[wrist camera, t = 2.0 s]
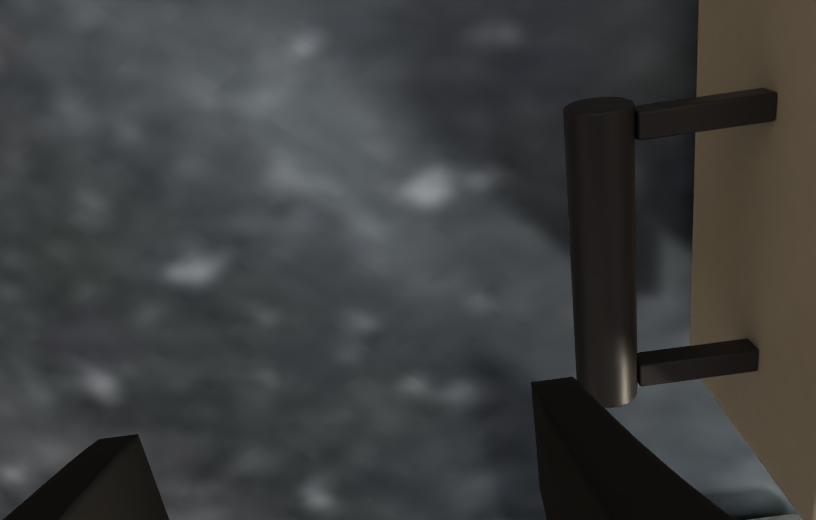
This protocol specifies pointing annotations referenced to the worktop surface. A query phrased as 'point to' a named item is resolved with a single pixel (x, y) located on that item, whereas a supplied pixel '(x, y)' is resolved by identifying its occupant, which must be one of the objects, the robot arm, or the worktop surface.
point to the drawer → (715, 234)
